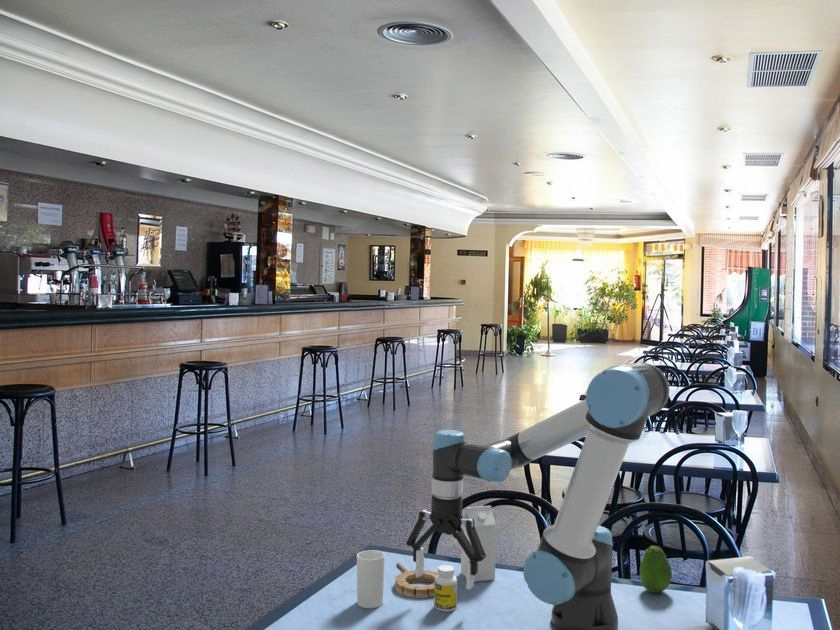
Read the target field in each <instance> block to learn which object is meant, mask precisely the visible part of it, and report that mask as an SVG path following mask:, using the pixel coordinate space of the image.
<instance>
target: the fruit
mask: <svg viewBox="0 0 840 630" xmlns="http://www.w3.org/2000/svg"><path fill="white" fill-rule="evenodd" d="M671 567H672V566H671V564H670V562H669V560H668V557H667V556H666V553H665V552H664V550H663V549H662V547H660V546H657V545H650V546H649V547H648V548H646V549H645V551H644V554H643V557H642V559H641V561H640V566H639V578H640V581H641V585H642V586H643V587H644V589H645V590H647V591H648V592H650V593H653V594H656V593H657V594H658V593H661V592H664V591H665V590H666V589H668V588H669V586H670V584H671V581H672V578H673V574H672V568H671Z"/></svg>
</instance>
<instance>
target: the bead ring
mask: <svg viewBox="0 0 840 630" xmlns="http://www.w3.org/2000/svg"><path fill="white" fill-rule="evenodd" d="M436 576H438V571H437V572H436V571H432V570H429V569H428V570H425V569H423V574H422V575H421V576H420V577H416V569H414V570H413V569H411V570H407V572H403V571H402V572H400V574H398V575H396V576H395V583H394V584H395V586H394V588H395V591H396V592H398V593H399V594H401V595H403V596H407V597H411V598H417V599H418V598H422V599H423V598H426V599H427V598H431V597H435V578H436ZM413 582H427V583H431V584H428V585H416V584H412V583H413ZM410 583H411V584H410Z"/></svg>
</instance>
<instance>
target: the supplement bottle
mask: <svg viewBox="0 0 840 630" xmlns="http://www.w3.org/2000/svg"><path fill="white" fill-rule="evenodd" d="M437 573H438V576H436V578H435V596H434V599H433V600H434V602H433V603H434V608H435V609H436V610H437V611H440V612H445V613H446V612H453V611H455V610H456V608H457V601H458V596H457V595H458V594H457V593H458V578H457V577H456V576H455V567H454V566H452V565H449V564H448V565H447V564H444V565H443V564H442V565H439V566H438V567H437Z"/></svg>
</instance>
